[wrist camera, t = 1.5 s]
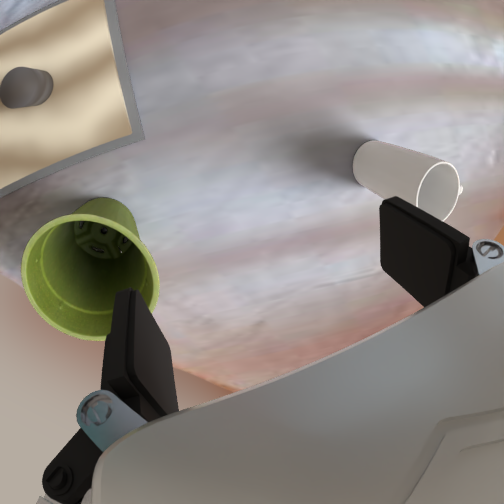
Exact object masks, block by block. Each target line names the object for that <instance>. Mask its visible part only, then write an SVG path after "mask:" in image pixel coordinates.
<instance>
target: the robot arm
mask: <svg viewBox="0 0 504 504" xmlns="http://www.w3.org/2000/svg"><path fill="white" fill-rule="evenodd" d="M379 211H380V262H381V266H382V269H383V270H384V271H385V272H386V273H387V274H388V275H389V276H391V277H392V278H393V279H394V280H395V281H396V282H397V283H398V284H400V285H401V286H402V287H403V288H404V289H405V290H406V291H407V292H408V293H409V294H411V295H412V296H413V297H414V298H415V299H416V300H417V301H418V302H419V303H420V304H421V305H423V306H424V308H423V309H421V310H419V311H417V312H415V313H414V314H412V315H410V316H408V317H406V318H404V319H402V320H400V321H399V322H397V323H395V324H393V325H391V326H389V327H387V328H385V329H383V330H381V331H379V332H377V333H375V334H373V335H371V336H369V337H367V338H365V339H363V340H361V341H359V342H357V343H355V344H353V345H350V346H348V347H346V348H344V349H342V350H340V351H337V352H335V353H333V354H331V355H328V356H326V357H324V358H322V359H319V360H317V361H315V362H312V363H310V364H308V365H305V366H303V367H301V368H298V369H296V370H293V371H291V372H288V373H286V374H283V375H281V376H278V377H276V378H273V379H270V380H268V381H265V382H262V383H260V384H257V385H254V386H252V387H249V388H246V389H243V390H240V391H237V392H235V393H232V394H229V395H226V396H223V397H221V398H218V399H214V400H211V401H208V402H205V403H202V404H199V405H196V406H193V407H190V408H187V409H184V410H181V411H179V409H178V402H177V396H176V389H175V382H174V375H173V366H172V358H171V350H170V347H169V344H168V342H167V340H166V339H165V337H164V335H163V334H162V332H161V330H160V328H159V326H158V325H157V323H156V321H155V319H154V317H153V316H152V314H151V312H150V310H149V308H148V306H147V305H146V303H145V301H144V299H143V297H142V295H141V293H140V291H139V290H138V289H137V290H133V289H132V288H131V287H130V288H127V289H124V290H121V291H118V292H116V295H115V301H114V308H113V315H112V323H111V331H110V333H109V334H108V335H107V336H106V340H105V349H104V359H103V367H102V379H101V390H98V391H95V392H92V393H90V394H89V395H88V396H86V397H85V398H84V399H83V400H82V402H81V403H80V405H79V407H78V409H77V414H76V417H77V422H78V424H79V426H80V427H81V428H80V429H79V431H78V432H77V433H76V434H75V435H74V436H73V437H72V439H71V440H70V441H69V442H68V443H67V444H66V446H65V447H64V448H63V449H62V450H61V451H60V452H59V453H58V455H57V456H56V457H55V458H54V459H53V460H52V461H51V463H50V464H49V465H48V466H47V468H46V469H45V471H44V474H43V479H42V484H43V488H44V491H45V493H46V494H45V496H44V498H43V497H41V496H40V497H39V499H38V501H37V503H36V504H504V246H503V245H501V244H500V243H498V242H496V241H493V240H489V239H480V240H477V241H476V242H474V243H473V245H472V248H471V247H469V240H470V238H469V237H468V236H466V235H464V234H463V233H461V232H459V231H458V230H456V229H455V228H453V227H451V226H450V225H448V224H446V223H444V222H443V221H441V220H439V219H438V218H436V217H434V216H432V215H431V214H429V213H427V212H425V211H423V210H422V209H420V208H418V207H416V206H414V205H412V204H411V203H409V202H407V201H405V200H403V199H401V198H399V197H397V196H394V197H391V198H388V199H385V200H383V201H382V205H380V208H379Z"/></svg>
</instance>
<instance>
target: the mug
mask: <svg viewBox="0 0 504 504" xmlns="http://www.w3.org/2000/svg"><path fill="white" fill-rule="evenodd" d="M353 173H354V176H355V178H356V180H357V181H358V183H359V184H361V185H362V186H364V187H365V188H367V189H369V190H370V191H372V192H373V193H375V194H377V195H378V196H380V197H382V198H384V199H388V198H391V197H394V196H397V197H399V198H401V199H403V200H405V201H407V202H409V203H411V204H412V205H414V206H416V207H418V208H420V209H422V210H423V211H425V212H427V213H429V214H431V215H432V216H434V217H436V218H438V219H439V220H441V221H444V220H445V219H446V218H447V217H448V216H449V215H450V213H451V212H452V210H453V209H454V207H455V205H456V202H457V199H458V196H459V194H461V193H462V190H463V187H462V186H461V185H460V182H459V176H458V173H457V171H456V169H455V167H454V166H453V165H452V164H451V163H449V162H446V161H443V160H440V159H438V158H435V157H432V156H429V155H426V154H423V153H420V152H416V151H413V150H410V149H406V148H403V147H400V146H396V145H393V144H389V143H385V142H381V141H376V140H373V141H368V142H366V143H364V144H363V145H362V146H361V147H360V148H359V149H358V150H357V152H356V154H355V156H354V159H353Z"/></svg>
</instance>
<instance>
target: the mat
mask: <svg viewBox="0 0 504 504" xmlns="http://www.w3.org/2000/svg"><path fill="white" fill-rule="evenodd" d="M66 1H68V0H60V1H58V2H55V3H53V4H51V5H49V6H47V7H45V8H43V9H40V10H38V11H36V12H34V13H32V14H31V15H29V16H27V17H25V18H23V19H21V20H19V21H17V22H16V23H14V24H12V25H10V26H9V27H7V28H5V29H4V30H2V31H0V35H1V34H3V33H4V32H6V31H8V30H10V29H11V28H13V27H15V26H17V25H18V24H20V23H22V22H24V21H26V20H28V19H30V18H32V17H34V16H36V15H38V14H40V13H42V12H44V11H46V10H48V9H50V8H52V7H54V6H57V5H59V4H61V3H64V2H66ZM104 3H105V9H106V15H107V21H108V26H109V32H110V37H111V42H112V47H113V52H114V57H115V62H116V67H117V71H118V76H119V80H120V85H121V89H122V93H123V97H124V101H125V106H126V110H127V114H128V117H129V121H130V125H131V129H132V134H130V135H127V136H124V137H121V138H118V139H115V140H113V141H110V142H107V143H104V144H101V145H99V146H96V147H93V148H91V149H88V150H85V151H83V152H80V153H78V154H75V155H73V156H70V157H68V158H66V159H63V160H61V161H58V162H56V163H54V164H51V165H49V166H47V167H45V168H42V169H40V170H38V171H36V172H34V173H32V174H30V175H27V176H25V177H23V178H21V179H19V180H17V181H15V182H13V183H11V184H9V185H7V186H5V187H3V188H1V189H0V198H1V197H3V196H5V195H7V194H9V193H11V192H13V191H15V190H17V189H19V188H21V187H23V186H26V185H28V184H30V183H32V182H34V181H36V180H38V179H41V178H43V177H45V176H47V175H50V174H52V173H54V172H57V171H59V170H61V169H64V168H66V167H69V166H71V165H74V164H76V163H79V162H81V161H84V160H86V159H89V158H92V157H94V156H97V155H100V154H102V153H105V152H108V151H111V150H114V149H117V148H119V147H122V146H125V145H128V144H131V143H135V142H138V141H141V140H144V139H145V137H144V133H143V129H142V125H141V121H140V117H139V113H138V109H137V105H136V101H135V97H134V93H133V89H132V84H131V80H130V75H129V71H128V66H127V62H126V57H125V52H124V47H123V42H122V37H121V32H120V27H119V21H118V16H117V10H116V4H115V0H104Z"/></svg>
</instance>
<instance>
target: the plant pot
mask: <svg viewBox="0 0 504 504" xmlns="http://www.w3.org/2000/svg"><path fill="white" fill-rule="evenodd" d="M80 221H84V224H83V226H82V227H83V228H80V227H79V224H80ZM102 228H106V229H107V233H106V234H103V233H101V229H102ZM125 236H126V237H127V238H128V241H127V242H126V243H123V239H124V237H125ZM118 246H119V248H120V249H121V251H122V253H121V252H120V250H119V248H118ZM92 247H96V248H98V249H102V250H104V253H102V252H97V251H95V250H93V249H92ZM21 276H22V283H23V287H24V290H25V293H26V295H27V297H28V299H29V301H30V303H31V304H32V306H33V307H34V309H35V310H36V311H37V313H38V314H39V315H40V316H41V317H42V318H43V319H44V320H45V321H46V322H47V323H49V324H50V325H51V326H53V327H54V328H56V329H57V330H59V331H61V332H63V333H65V334H67V335H70V336H73V337H76V338H79V339H84V340H94V341H105V340H106V336H107V335H108V334H109V333H110V331H111V323H112V315H113V308H114V301H115V295H116V292H118V291H121V290H124V289H127V288H130V287H131V288H132V289H133V290H137V289H138V290H139V291H140V293H141V295H142V297H143V299H144V301H145V303H146V305H147V306H148V308H149V310H150V312H151V314H152V312H153V310H154V308H155V306H156V304H157V301H158V297H159V286H160V285H159V275H158V271H157V267H156V265H155V262H154V260H153V258H152V256H151V254H150V252H149V251H148V249H147V248H146V246H145V245H144V244H143V243H142V241H141V240H140V238H139V234H138V231H137V227H136V223H135V220H134V217H133V216H132V214H131V212H130V211H129V209H128V208H127V207H126V206H125V205H123V204H122V203H120V202H119V201H117V200H114V199H110V198H97V199H93V200H91V201H89V202H87V203H85V204H84V205H82V206H81V207H80V208H79V209H77V210H76V211H75V212H73V213H72V214H70V215H65V216H61V217H58V218H55V219H53V220H51V221H49V222H48V223H46V224H45V225H43V226H42V227H41V228H39V229H38V230H37V231H36V232H35V233H34V235H33V236H32V237H31V239H30V240H29V241H28V243H27V245H26V247H25V250H24V253H23V257H22V262H21Z"/></svg>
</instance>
